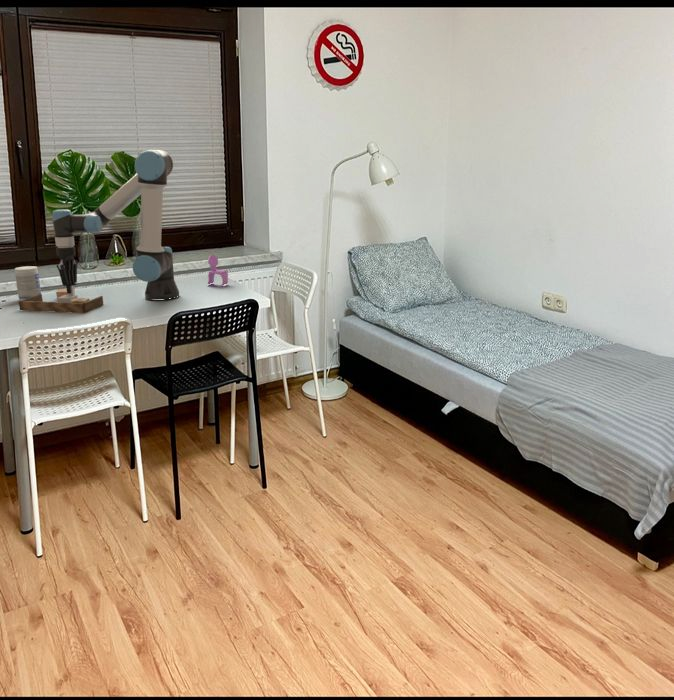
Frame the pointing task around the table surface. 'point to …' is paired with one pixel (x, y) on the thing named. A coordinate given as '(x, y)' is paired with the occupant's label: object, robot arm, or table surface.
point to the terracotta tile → (61, 292)
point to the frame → (59, 305)
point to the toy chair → (213, 263)
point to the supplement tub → (27, 282)
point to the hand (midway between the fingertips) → (71, 300)
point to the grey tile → (66, 298)
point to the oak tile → (79, 300)
